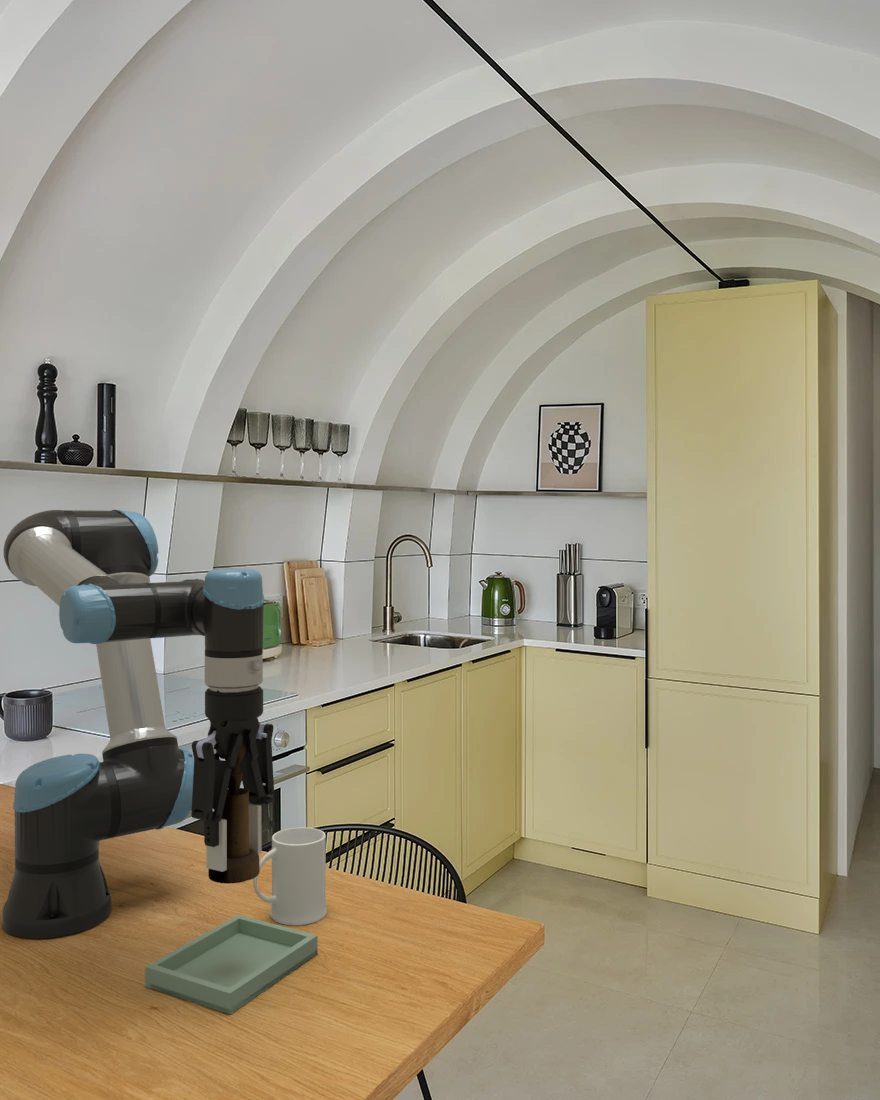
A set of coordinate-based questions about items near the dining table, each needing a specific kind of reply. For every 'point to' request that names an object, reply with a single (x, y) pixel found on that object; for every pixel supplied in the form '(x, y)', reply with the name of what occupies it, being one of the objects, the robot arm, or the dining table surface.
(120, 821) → the robot arm
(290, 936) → the tray
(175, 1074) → the dining table surface
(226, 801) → the wooden pepper mill
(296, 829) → the mug
